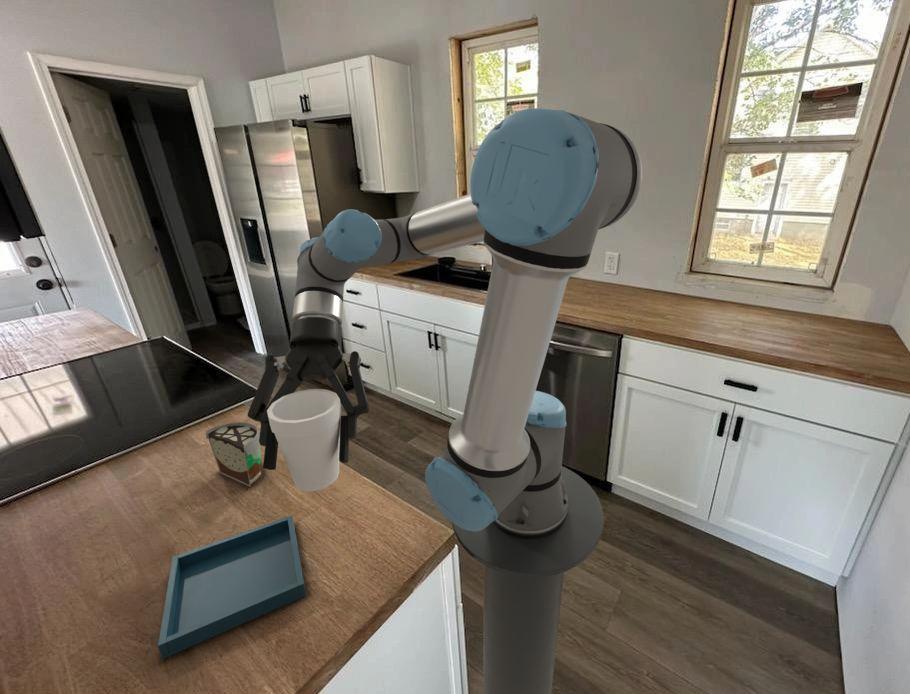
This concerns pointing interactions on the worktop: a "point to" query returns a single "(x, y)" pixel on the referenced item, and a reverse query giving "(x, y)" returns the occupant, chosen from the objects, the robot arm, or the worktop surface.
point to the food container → (237, 451)
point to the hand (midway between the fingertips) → (307, 465)
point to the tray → (230, 584)
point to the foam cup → (308, 436)
